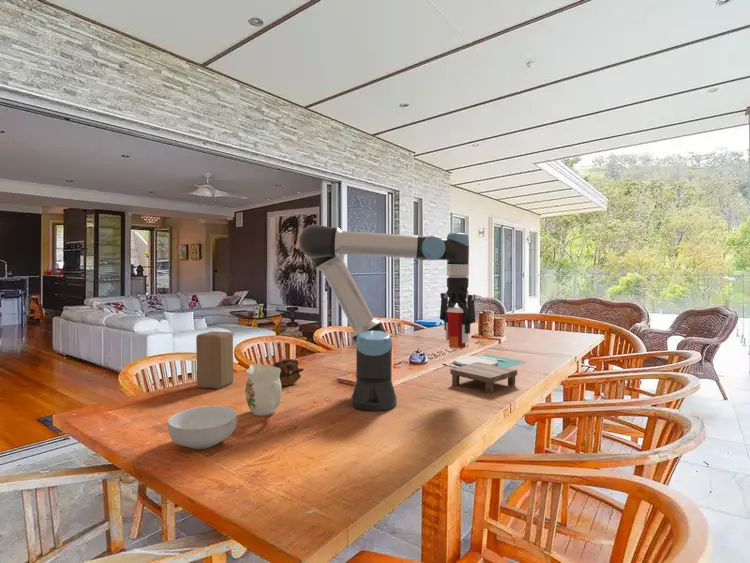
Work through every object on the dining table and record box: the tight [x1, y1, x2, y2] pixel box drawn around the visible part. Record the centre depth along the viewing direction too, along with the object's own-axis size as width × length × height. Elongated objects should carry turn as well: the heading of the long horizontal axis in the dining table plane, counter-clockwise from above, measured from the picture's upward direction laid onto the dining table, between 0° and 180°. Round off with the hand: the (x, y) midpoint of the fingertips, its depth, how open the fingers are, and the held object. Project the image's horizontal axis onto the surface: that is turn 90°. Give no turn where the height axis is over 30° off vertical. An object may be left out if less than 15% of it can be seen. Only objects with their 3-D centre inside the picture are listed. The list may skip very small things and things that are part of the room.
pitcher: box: [245, 363, 283, 417], centre depth 136 cm, size 11×18×14 cm, turn 41°
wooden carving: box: [272, 358, 305, 387], centre depth 167 cm, size 16×5×10 cm, turn 143°
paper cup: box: [447, 306, 466, 349], centre depth 156 cm, size 8×8×14 cm
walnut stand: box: [450, 362, 518, 395], centre depth 168 cm, size 18×18×6 cm
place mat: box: [445, 353, 525, 368], centre depth 206 cm, size 45×30×2 cm
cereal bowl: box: [166, 405, 238, 450], centre depth 113 cm, size 17×17×7 cm
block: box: [195, 330, 234, 390], centre depth 167 cm, size 10×10×20 cm
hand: (456, 341), depth 156 cm, fingers closed on paper cup, 6 cm apart
